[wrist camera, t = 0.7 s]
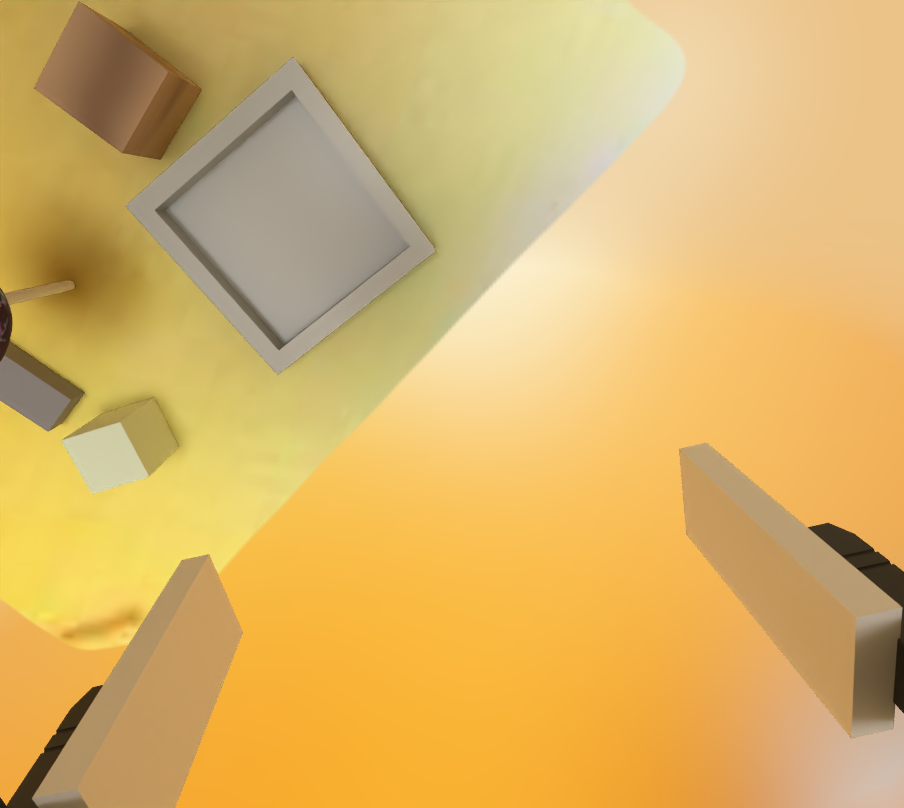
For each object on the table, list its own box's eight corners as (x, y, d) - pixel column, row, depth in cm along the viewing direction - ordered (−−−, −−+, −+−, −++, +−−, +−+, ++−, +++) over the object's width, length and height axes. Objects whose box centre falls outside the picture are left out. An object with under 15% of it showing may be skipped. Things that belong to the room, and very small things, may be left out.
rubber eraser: (-15, 368, 40) (-37, 376, 38) (7, 336, 39) (-14, 343, 37) (65, 421, 41) (48, 431, 40) (87, 391, 41) (71, 400, 39)
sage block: (102, 413, 41) (61, 440, 36) (154, 397, 41) (120, 421, 36) (128, 462, 42) (92, 494, 38) (179, 446, 42) (149, 476, 38)
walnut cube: (85, 104, 35) (33, 88, 30) (126, 29, 34) (78, 1, 29) (160, 159, 36) (121, 152, 31) (202, 89, 35) (168, 71, 30)
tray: (141, 206, 37) (125, 205, 35) (300, 65, 35) (293, 56, 33) (284, 366, 41) (277, 374, 39) (435, 248, 39) (436, 250, 37)
